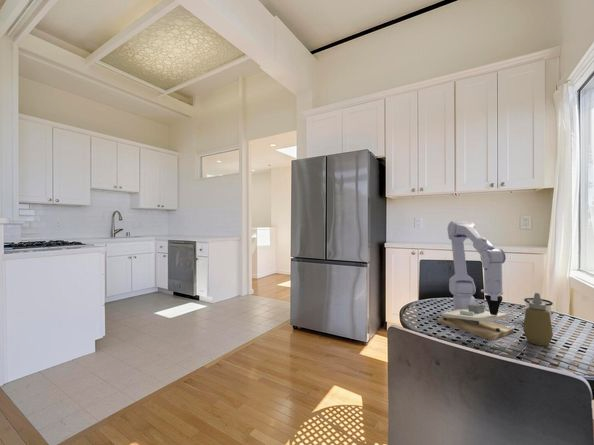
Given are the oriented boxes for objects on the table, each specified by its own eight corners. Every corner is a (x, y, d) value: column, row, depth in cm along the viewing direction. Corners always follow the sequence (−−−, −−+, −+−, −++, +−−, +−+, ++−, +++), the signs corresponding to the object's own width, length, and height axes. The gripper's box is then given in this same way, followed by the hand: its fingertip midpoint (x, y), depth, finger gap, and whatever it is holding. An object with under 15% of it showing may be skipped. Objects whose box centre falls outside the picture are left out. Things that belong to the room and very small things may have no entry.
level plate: (460, 311, 127) (459, 301, 128) (508, 316, 109) (506, 305, 110) (441, 316, 122) (440, 305, 122) (488, 322, 104) (486, 310, 104)
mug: (534, 316, 126) (534, 297, 126) (559, 324, 117) (558, 302, 117) (514, 319, 123) (514, 299, 123) (537, 327, 114) (537, 305, 114)
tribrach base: (459, 316, 129) (459, 307, 129) (513, 332, 109) (513, 322, 109) (437, 321, 122) (437, 312, 122) (490, 340, 102) (490, 329, 102)
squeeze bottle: (517, 338, 103) (516, 290, 103) (537, 337, 104) (536, 290, 104) (538, 348, 95) (537, 296, 95) (559, 347, 96) (558, 295, 96)
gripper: (480, 275, 117) (481, 307, 117) (480, 282, 104) (481, 318, 104) (501, 277, 113) (502, 310, 113) (504, 284, 101) (504, 321, 101)
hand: (493, 314), depth 108 cm, fingers closed
